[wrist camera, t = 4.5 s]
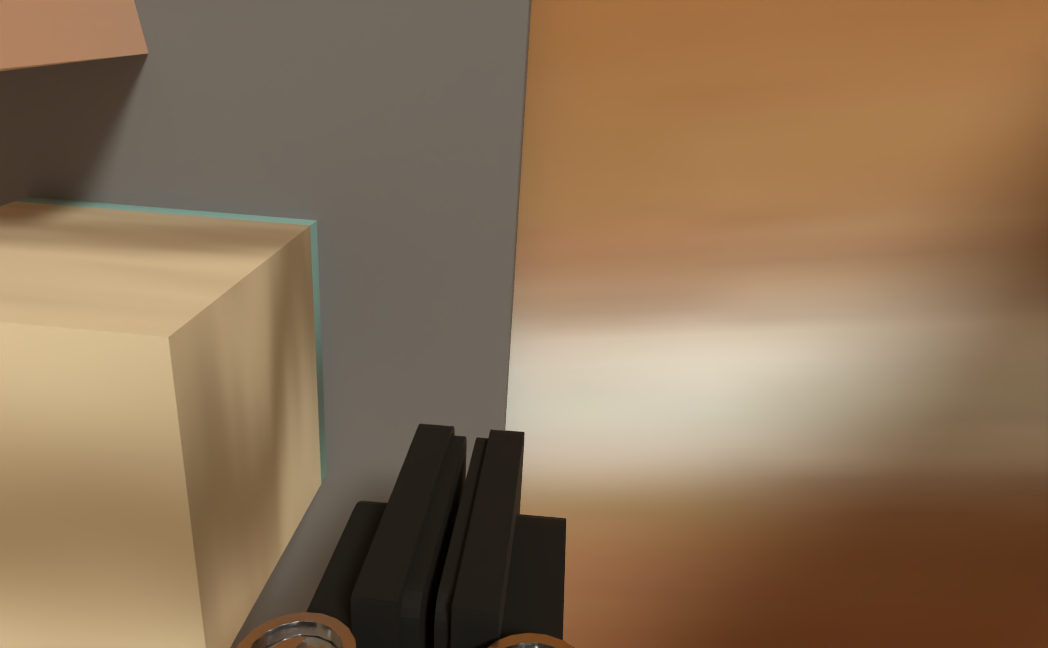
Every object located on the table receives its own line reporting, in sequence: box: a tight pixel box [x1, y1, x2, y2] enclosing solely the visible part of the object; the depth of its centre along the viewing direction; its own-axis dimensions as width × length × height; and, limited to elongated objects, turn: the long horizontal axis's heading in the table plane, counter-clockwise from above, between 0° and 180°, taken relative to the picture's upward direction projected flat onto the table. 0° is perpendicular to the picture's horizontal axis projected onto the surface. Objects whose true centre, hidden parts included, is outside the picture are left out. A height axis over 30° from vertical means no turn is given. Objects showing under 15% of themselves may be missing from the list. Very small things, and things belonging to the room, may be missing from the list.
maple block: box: [0, 197, 327, 648], centre depth 14 cm, size 6×6×6 cm
